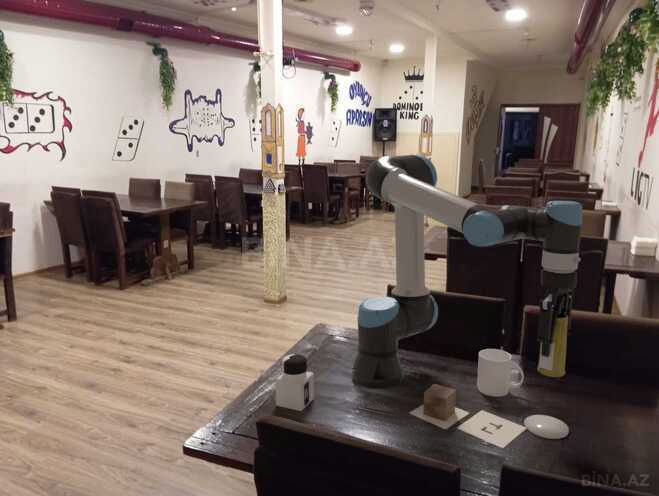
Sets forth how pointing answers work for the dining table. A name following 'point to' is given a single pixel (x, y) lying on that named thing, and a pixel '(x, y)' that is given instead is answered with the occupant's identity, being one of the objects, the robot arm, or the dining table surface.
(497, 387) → the mug
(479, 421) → the plate
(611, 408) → the dining table surface
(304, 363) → the container
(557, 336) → the vase
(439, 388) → the walnut block
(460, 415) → the plate
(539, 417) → the white round coaster
